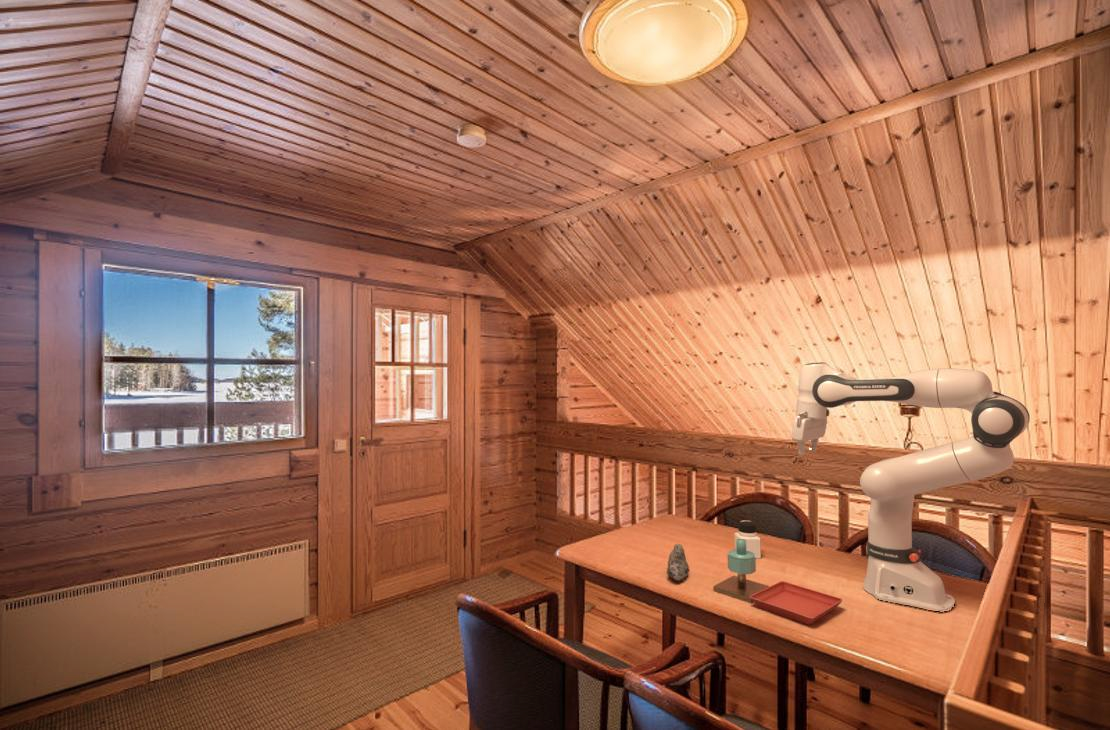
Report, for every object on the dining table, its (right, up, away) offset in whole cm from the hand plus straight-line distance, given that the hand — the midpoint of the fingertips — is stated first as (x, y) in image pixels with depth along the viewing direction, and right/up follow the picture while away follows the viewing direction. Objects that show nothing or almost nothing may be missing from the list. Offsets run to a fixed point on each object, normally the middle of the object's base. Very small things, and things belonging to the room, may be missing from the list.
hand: (807, 452), depth 178 cm
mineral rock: (-44, -40, -4) cm, 60 cm away
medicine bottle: (-14, -40, +15) cm, 45 cm away
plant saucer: (-16, -39, -28) cm, 51 cm away
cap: (-27, -33, -16) cm, 45 cm away
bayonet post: (-27, -39, -16) cm, 50 cm away
